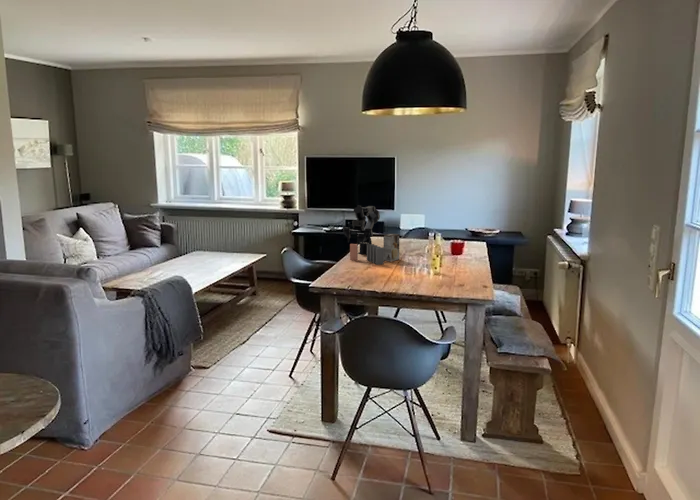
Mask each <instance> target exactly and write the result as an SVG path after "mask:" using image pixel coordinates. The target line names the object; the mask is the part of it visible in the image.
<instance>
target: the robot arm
mask: <svg viewBox="0 0 700 500" xmlns="http://www.w3.org/2000/svg"><path fill="white" fill-rule="evenodd" d="M353 213H354V216H355V218H356V219H355V220H352V224H351V225H352V229H351V227H346V226H344V227H343V229H342V232H343V235H344V236H345V237H346V239H347V240H346V241H347V243H350V240H351V238H352V237H351V235H352V234H357V237H356V244H358V245H359V252H358V255H367V244H373V241H372V237H373V233H374V232H373V227H374V226H375V225H374V224H376V223H378V221H380V217H381V216H380V212H379V210H378V209H377V208H376V206H375V205H368V206H365V207H363V206H362V205H357V206H355V207H354V208H353Z"/></svg>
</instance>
